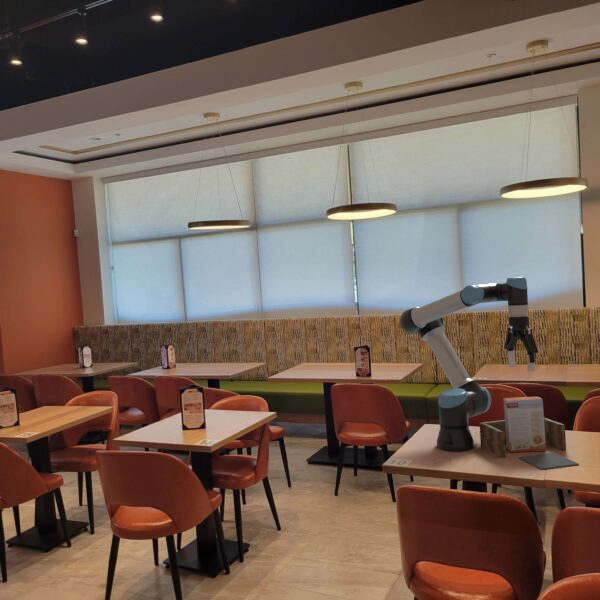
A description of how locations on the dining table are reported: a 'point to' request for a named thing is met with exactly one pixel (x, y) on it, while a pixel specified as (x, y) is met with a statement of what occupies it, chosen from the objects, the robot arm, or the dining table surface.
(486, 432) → the cubby shelf
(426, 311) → the robot arm
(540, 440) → the cracker box
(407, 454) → the dining table surface
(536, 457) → the mat
